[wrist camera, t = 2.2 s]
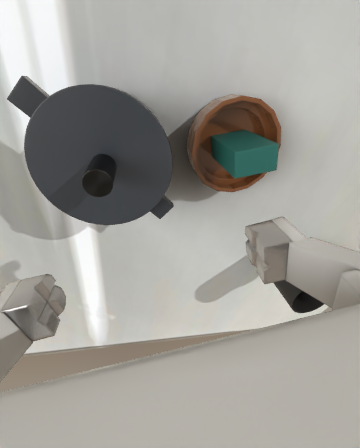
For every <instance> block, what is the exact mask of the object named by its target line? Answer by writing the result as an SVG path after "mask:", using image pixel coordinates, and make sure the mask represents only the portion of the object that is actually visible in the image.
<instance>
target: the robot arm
mask: <svg viewBox="0 0 360 448" xmlns="http://www.w3.org/2000/svg"><path fill="white" fill-rule="evenodd" d="M245 235H246V236H247V238H248V240H247V242H246V251H247V255H248V257H249V260H250V262H251V263H252V265H254V266H256V267H257V273H258V275H259V276H260V278H261V280H262V281H263V283H264V284H268V283H273V282H277V281H282V280H286V281H287V282H289V283H291V284H292V285H294V286H296V287H297V288H299V289H301V290H302V291H304V292H306V293H307V294H309V295H311V296H312V297H314V298H316V299H317V300H319V301H321V302H322V303H324V304H326V305H327V306H329V307H331V308H332V311H329V312H325V313H321V314H317V315H313V316H308V317H304V318H300V319H296V320H292V321H288V322H284V323H280V324H276V325H272V326H268V327H264V328H260V329H256V330H252V331H248V332H243V333H239V334H235V335H232V336H227V337H223V338H219V339H215V340H211V341H207V342H204V343H199V344H195V345H191V346H187V347H183V348H179V349H175V350H171V351H167V352H163V353H158V354H154V355H150V356H146V357H142V358H138V359H134V360H130V361H126V362H122V363H118V364H114V365H110V366H106V367H102V368H98V369H93V370H89V371H85V372H81V373H77V374H73V375H69V376H65V377H61V378H57V379H53V380H49V381H45V382H41V383H36V384H32V385H28V386H24V387H20V388H16V389H12V390H8V391H4V392H0V448H360V252H357V251H354V250H351V249H347V248H344V247H341V246H337V245H334V244H331V243H327V242H324V241H321V240H318V239H314V238H306V237H305V236H304V235H303V234H302V233H301V232H300V231H299V230H297V229H296V228H295V227H294V226H293V225H292V224H291V223H290V222H289V221H288V220H287V219H285V218H284V217H278V218H275V219H271V220H269V221H265V222H261V223H257V224H253V225H249V226H246V228H245ZM55 282H56V280H55V279H54V277H53V276H52V275H50V274H45V275H41V276H36V277H31V278H27V279H23V280H18V281H14V282H11V283H9V284H7V286H6V287H5V288H4V290H3V291H2V293H1V294H0V382H1V381H2V380H3V378H4V377H5V376H6V375H7V373H8V372H9V371H10V370H11V369H12V367H13V366H14V365H15V364H16V363H17V361H18V360H19V359H20V358H21V356H22V355H23V354H24V353H25V352H26V350H27V349H28V348H29V347H30V346H31V344H32V343H33V341H36V340H40V339H44V338H47V337H51V336H54V335H55V333H56V330H57V327H58V325H59V322H60V319H59V317H58V316H59V315H60V314H61V313H62V312H63V311H64V308H65V305H66V296H65V293H64V291H63V290H62V288H60V287H58V286H56V285H55Z"/></svg>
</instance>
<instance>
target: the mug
mask: <svg viewBox="0 0 360 448" xmlns="http://www.w3.org/2000/svg"><path fill="white" fill-rule="evenodd" d="M273 283H274V284H275V285H276V287H277V288H278V290H279V291H280V293H281V294H282V295H283V297H284V298H285V300H286V301H287V303H288V304H289V305H290V307H291V308H292V310H293V311H295V312H297V313H306V312H310V311H313V310H315V309H317V308H319V307H321V306H322V305H324V303H322V302H321V301H319V300H317V299H316V298H314V297H312V296H311V295H309V294H307V293H306V292H304V291H302V290H301V289H299V288H297V287H296V286H294V285H292V284H291V283H289V282H287V281H286V280H282V281H277V282H273Z"/></svg>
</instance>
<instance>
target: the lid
mask: <svg viewBox="0 0 360 448" xmlns="http://www.w3.org/2000/svg"><path fill="white" fill-rule="evenodd" d="M24 150H25V158H26V162H27V166H28V169H29V172H30V174H31V177H32V178H33V180H34V182H35V184H36V186H37V187H38V188H39V190H40V191H41V192H42V194H43V195H44V196H45V197H46V198H47V199H48V200H49V201H50V202H51V203H52V204H53V205H55V206H56V207H57V208H59V209H60V210H61V211H63V212H65V213H66V214H68V215H70V216H72V217H74V218H77V219H79V220H82V221H85V222H88V223H93V224H101V225H115V224H122V223H126V222H130V221H133V220H135V219H138V218H140V217H142V216H143V215H145V214H146V213H148V212H149V211H150V210H152V209H153V208H154V207H155V206H156V205H157V204H158V203H159V201H160V200H161V199H162V197H163V196H164V194H165V192H166V190H167V188H168V185H169V183H170V179H171V174H172V153H171V148H170V144H169V141H168V138H167V136H166V134H165V132H164V129H163V128H162V126H161V125H160V123H159V121H158V120H157V119H156V117H155V116H154V115H153V114H152V112H151V111H150V110H149V109H148V108H147V107H145V106H144V105H143V104H142V103H141V102H139V101H138V100H137V99H135V98H134V97H132V96H130V95H128V94H127V93H125V92H122V91H120V90H117V89H115V88H111V87H107V86H103V85H94V84H88V85H77V86H72V87H68V88H65V89H62V90H60V91H58V92H56V93H54V94H52V95H51V96H49V97H48V98H47V99H46V100H44V101H43V102H42V103H41V104H40V105H39V106H38V108H37V109H36V110H35V112H34V113H33V115H32V117H31V118H30V121H29V123H28V126H27V129H26V134H25V142H24Z"/></svg>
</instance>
